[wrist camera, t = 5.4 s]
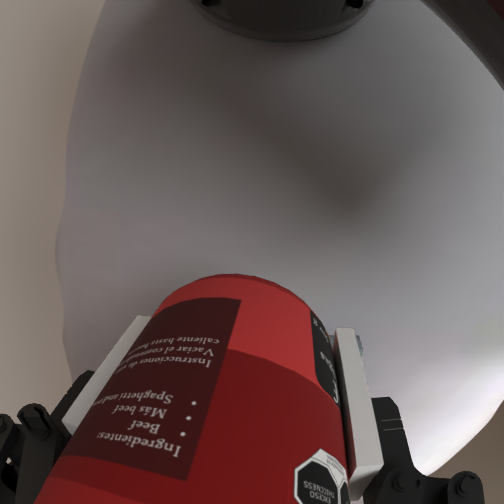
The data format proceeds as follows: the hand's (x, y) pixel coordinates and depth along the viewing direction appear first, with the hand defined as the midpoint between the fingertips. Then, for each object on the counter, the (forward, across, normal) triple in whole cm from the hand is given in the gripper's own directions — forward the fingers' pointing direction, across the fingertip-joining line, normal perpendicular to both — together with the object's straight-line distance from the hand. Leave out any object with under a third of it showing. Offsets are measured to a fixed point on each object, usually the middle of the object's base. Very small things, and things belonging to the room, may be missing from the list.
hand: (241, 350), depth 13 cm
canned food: (+1, 0, 0) cm, 1 cm away
